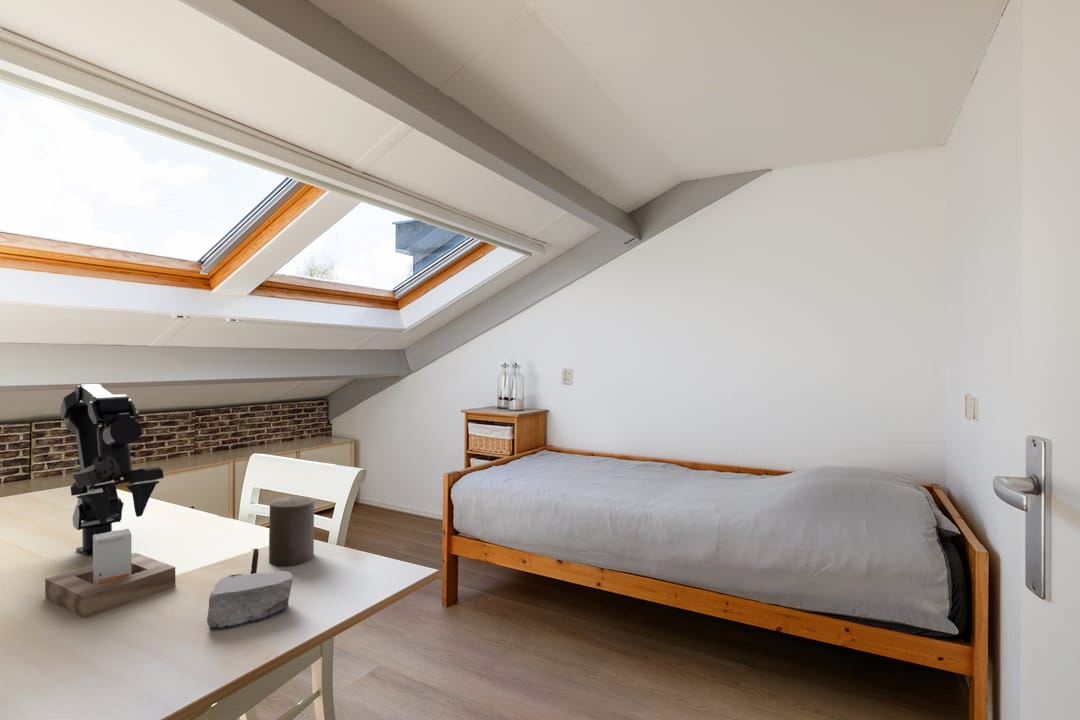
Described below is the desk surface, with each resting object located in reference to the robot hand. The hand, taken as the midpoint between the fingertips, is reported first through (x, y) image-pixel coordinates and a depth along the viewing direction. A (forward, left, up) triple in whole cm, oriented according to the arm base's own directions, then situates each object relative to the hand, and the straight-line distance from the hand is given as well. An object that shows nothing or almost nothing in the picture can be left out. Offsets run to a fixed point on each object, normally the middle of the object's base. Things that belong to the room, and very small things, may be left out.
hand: (121, 519), depth 125 cm
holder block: (+10, -7, -11) cm, 17 cm away
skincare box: (+10, -6, -12) cm, 17 cm away
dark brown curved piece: (+30, +8, -12) cm, 33 cm away
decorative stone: (+43, +2, -12) cm, 45 cm away
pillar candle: (+26, +23, -12) cm, 37 cm away
